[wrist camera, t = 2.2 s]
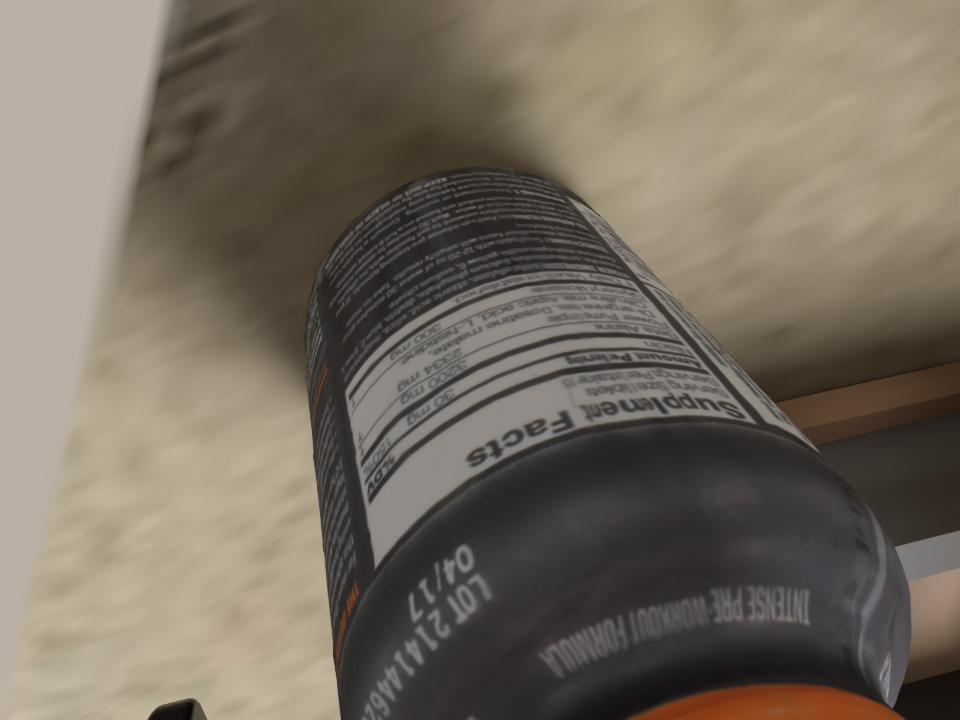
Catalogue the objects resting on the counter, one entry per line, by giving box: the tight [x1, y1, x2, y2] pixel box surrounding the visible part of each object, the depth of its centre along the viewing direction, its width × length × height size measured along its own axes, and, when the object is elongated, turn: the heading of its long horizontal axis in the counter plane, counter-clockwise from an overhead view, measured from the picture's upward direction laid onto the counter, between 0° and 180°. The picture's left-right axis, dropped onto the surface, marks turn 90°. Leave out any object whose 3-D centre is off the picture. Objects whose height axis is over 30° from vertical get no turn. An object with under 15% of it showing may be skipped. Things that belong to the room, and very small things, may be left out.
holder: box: [775, 361, 960, 720], centre depth 20 cm, size 11×11×4 cm
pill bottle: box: [304, 167, 912, 720], centre depth 11 cm, size 6×6×11 cm
